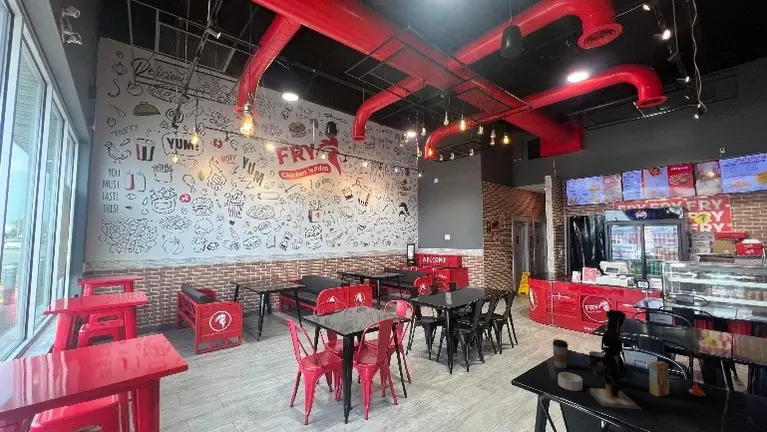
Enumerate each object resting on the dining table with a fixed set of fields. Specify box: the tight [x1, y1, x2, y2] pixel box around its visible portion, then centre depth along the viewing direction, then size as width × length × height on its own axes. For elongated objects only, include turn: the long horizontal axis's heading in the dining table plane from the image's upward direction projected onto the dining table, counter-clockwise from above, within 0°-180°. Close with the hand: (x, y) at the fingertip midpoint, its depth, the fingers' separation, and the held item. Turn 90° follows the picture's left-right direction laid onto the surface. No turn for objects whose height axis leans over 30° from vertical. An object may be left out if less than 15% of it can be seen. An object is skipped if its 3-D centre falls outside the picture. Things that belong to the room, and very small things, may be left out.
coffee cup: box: [552, 339, 569, 369], centre depth 202 cm, size 8×8×15 cm
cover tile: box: [589, 382, 638, 407], centre depth 162 cm, size 14×14×6 cm
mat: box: [585, 388, 643, 410], centre depth 162 cm, size 17×17×1 cm
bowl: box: [557, 371, 584, 392], centre depth 175 cm, size 11×11×5 cm
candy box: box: [648, 360, 670, 397], centre depth 169 cm, size 9×4×15 cm, turn 110°
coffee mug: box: [582, 350, 605, 372], centre depth 196 cm, size 12×9×10 cm
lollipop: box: [688, 371, 707, 397], centre depth 167 cm, size 6×10×12 cm, turn 146°
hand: (612, 393), depth 162 cm, fingers closed on cover tile, 4 cm apart
